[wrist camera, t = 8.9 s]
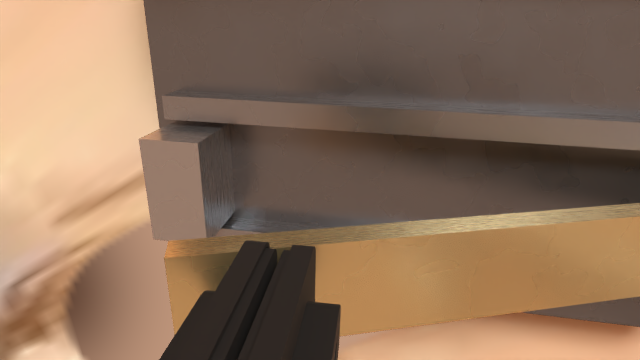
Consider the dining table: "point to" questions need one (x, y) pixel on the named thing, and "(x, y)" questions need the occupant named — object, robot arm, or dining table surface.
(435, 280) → the brass strap
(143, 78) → the dining table surface
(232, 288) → the robot arm
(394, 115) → the heatsink block
